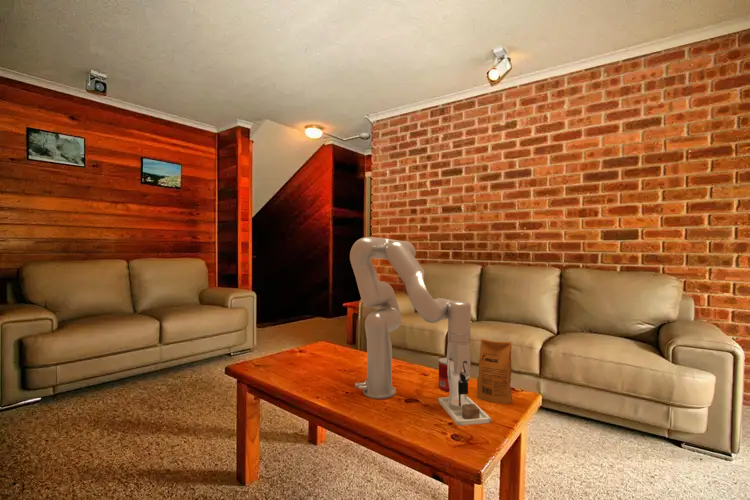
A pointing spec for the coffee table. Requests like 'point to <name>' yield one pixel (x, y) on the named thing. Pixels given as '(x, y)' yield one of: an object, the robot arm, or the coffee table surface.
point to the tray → (457, 413)
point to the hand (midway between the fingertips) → (458, 389)
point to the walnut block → (470, 411)
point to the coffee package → (494, 372)
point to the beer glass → (454, 387)
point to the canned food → (443, 374)
